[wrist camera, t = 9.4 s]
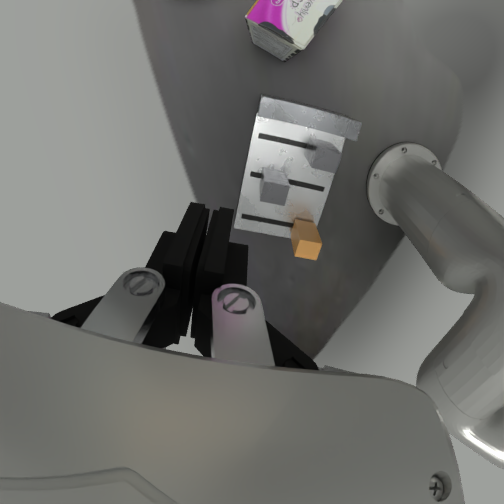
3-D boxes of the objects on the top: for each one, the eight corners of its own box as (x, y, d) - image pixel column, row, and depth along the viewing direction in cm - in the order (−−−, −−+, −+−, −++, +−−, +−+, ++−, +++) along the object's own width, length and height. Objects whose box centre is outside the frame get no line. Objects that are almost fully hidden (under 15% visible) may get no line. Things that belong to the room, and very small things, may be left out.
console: (347, 115, 33) (365, 124, 27) (309, 235, 43) (317, 264, 37) (261, 93, 32) (262, 97, 26) (234, 221, 42) (230, 249, 36)
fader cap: (315, 223, 39) (322, 243, 35) (309, 238, 40) (316, 260, 36) (295, 219, 39) (299, 239, 34) (290, 234, 40) (294, 256, 36)
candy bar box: (297, -21, 23) (324, -78, 9) (332, 0, 24) (383, -43, 10) (248, 43, 28) (241, 16, 14) (284, 64, 29) (306, 52, 16)
